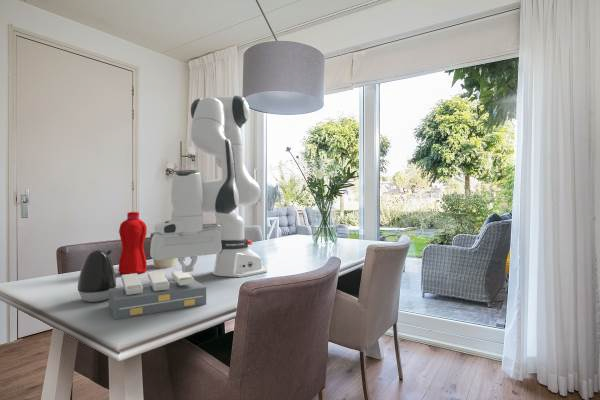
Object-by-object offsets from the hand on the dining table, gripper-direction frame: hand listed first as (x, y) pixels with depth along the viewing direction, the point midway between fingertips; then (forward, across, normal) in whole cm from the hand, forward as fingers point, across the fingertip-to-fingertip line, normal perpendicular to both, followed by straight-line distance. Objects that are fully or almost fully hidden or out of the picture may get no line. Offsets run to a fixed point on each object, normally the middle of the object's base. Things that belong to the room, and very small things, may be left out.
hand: (187, 271), depth 104 cm
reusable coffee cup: (+11, -9, -60) cm, 62 cm away
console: (+9, +8, -3) cm, 13 cm away
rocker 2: (+2, +8, -3) cm, 8 cm away
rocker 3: (+2, 0, -3) cm, 4 cm away
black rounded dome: (+10, +22, -19) cm, 30 cm away
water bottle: (+10, +6, -54) cm, 55 cm away
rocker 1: (+2, +14, -3) cm, 15 cm away
